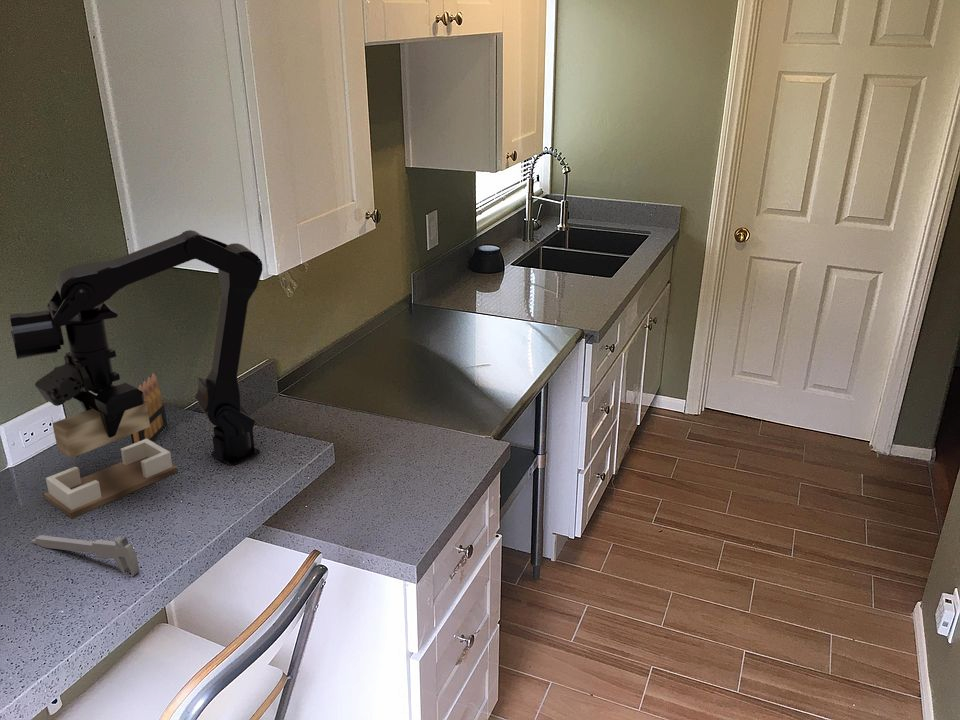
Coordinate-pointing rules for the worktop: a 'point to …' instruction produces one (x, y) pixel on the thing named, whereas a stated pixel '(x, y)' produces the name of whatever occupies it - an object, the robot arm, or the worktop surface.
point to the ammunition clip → (152, 411)
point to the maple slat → (95, 430)
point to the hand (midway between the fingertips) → (104, 432)
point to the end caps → (91, 491)
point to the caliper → (96, 549)
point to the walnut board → (113, 485)
